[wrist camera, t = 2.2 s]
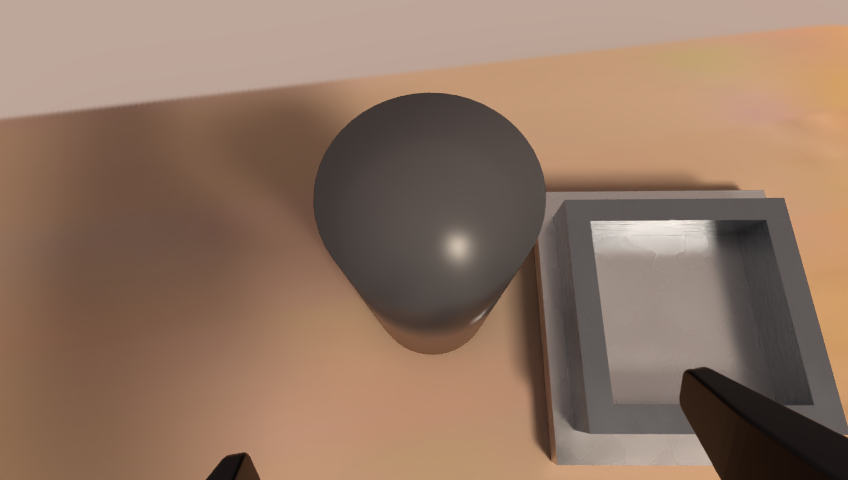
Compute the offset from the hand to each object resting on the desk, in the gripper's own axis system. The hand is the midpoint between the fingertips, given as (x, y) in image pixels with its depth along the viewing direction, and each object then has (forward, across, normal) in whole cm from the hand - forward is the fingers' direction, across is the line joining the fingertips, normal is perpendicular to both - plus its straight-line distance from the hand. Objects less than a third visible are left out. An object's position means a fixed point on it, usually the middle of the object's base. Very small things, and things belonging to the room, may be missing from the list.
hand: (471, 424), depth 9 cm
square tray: (+10, -10, +6) cm, 15 cm away
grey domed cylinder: (+12, 0, +4) cm, 12 cm away
